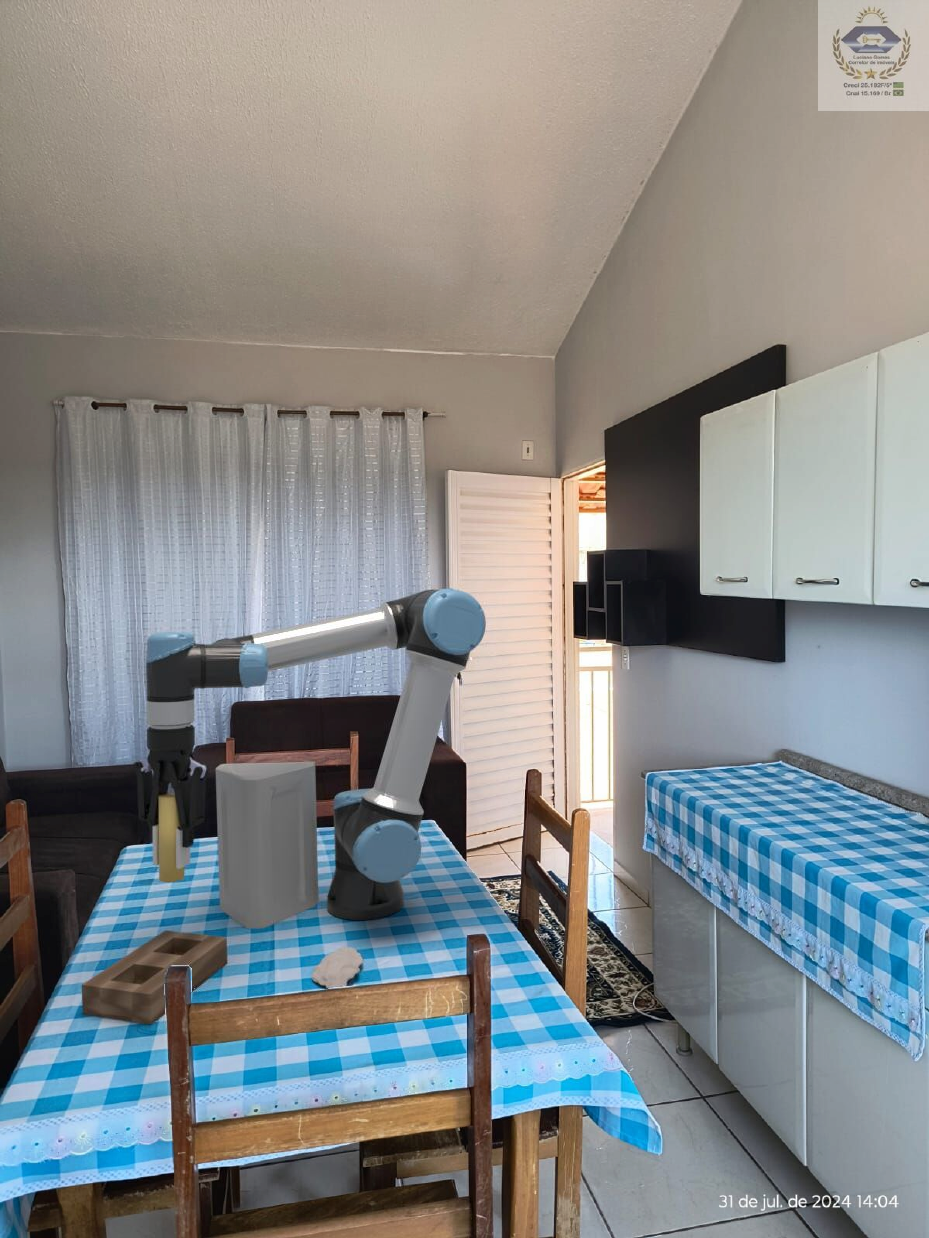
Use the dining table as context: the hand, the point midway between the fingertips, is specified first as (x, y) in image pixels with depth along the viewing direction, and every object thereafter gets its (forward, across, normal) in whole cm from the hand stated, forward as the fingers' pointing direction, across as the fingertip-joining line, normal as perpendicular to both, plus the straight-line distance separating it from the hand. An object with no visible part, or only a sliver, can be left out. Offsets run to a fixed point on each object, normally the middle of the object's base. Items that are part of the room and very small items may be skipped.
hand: (171, 863), depth 136 cm
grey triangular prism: (+17, -2, -24) cm, 30 cm away
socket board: (+18, -3, +6) cm, 19 cm away
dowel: (+2, 0, 0) cm, 2 cm away
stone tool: (+17, -28, -5) cm, 34 cm away
